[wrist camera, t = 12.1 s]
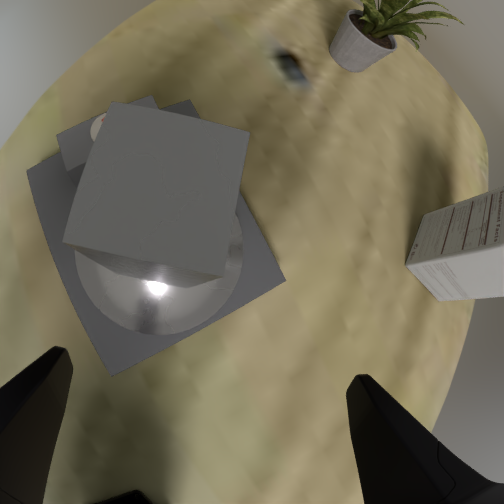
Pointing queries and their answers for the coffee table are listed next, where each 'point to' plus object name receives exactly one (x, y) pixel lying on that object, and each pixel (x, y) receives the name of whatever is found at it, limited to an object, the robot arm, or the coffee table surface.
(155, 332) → the scale pan
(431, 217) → the supplement box
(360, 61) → the house plant
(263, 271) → the scale base
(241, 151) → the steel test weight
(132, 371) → the coffee table surface
